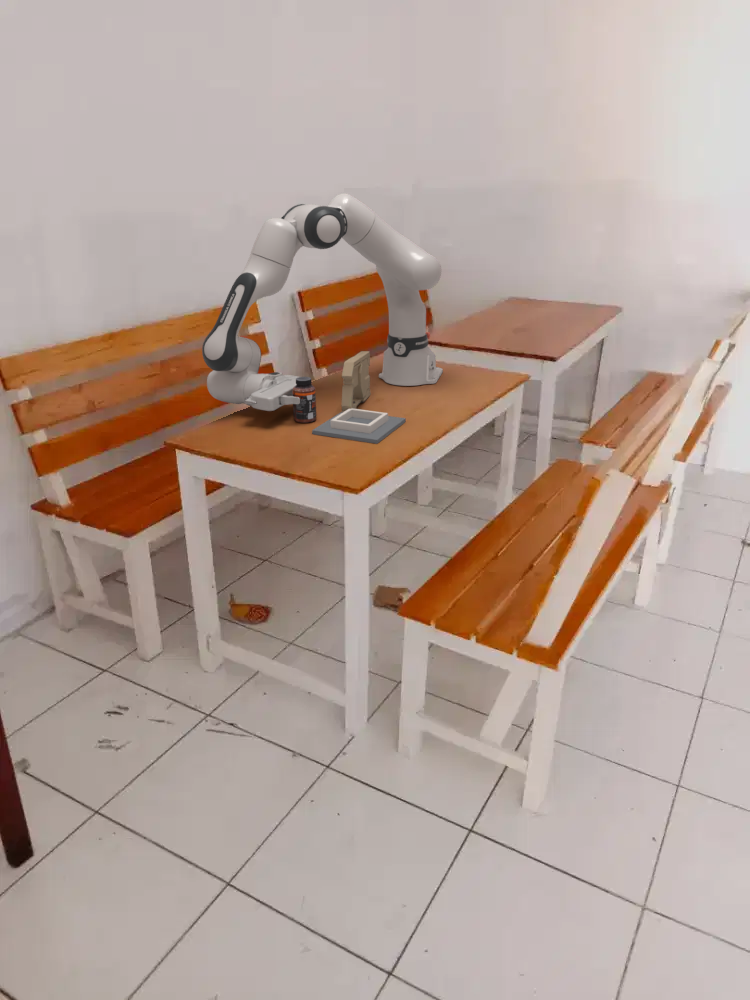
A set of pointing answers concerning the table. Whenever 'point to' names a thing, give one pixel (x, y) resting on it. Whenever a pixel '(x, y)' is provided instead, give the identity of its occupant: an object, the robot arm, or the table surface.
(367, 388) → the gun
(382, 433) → the holder
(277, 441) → the table surface
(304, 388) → the supplement bottle
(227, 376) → the robot arm
